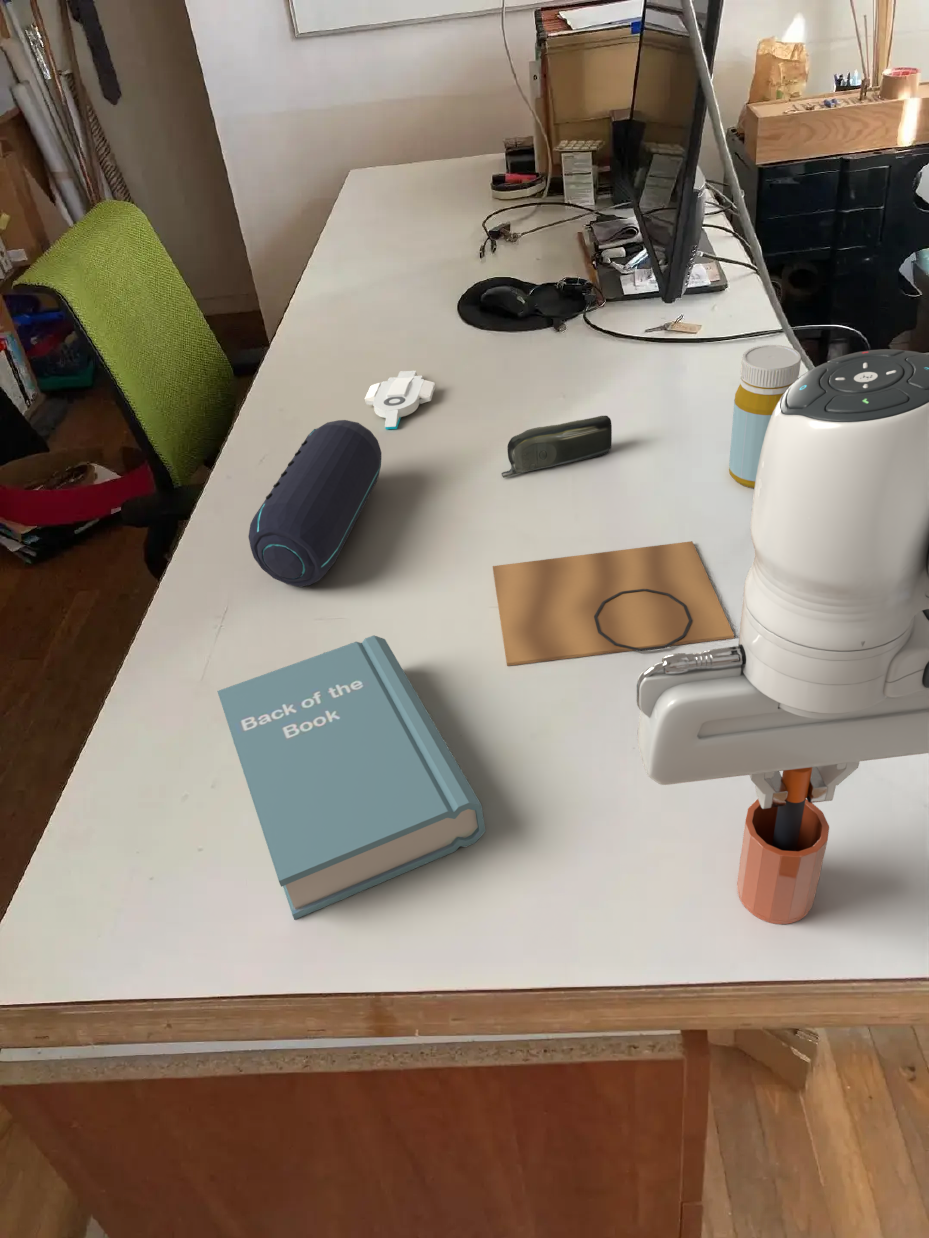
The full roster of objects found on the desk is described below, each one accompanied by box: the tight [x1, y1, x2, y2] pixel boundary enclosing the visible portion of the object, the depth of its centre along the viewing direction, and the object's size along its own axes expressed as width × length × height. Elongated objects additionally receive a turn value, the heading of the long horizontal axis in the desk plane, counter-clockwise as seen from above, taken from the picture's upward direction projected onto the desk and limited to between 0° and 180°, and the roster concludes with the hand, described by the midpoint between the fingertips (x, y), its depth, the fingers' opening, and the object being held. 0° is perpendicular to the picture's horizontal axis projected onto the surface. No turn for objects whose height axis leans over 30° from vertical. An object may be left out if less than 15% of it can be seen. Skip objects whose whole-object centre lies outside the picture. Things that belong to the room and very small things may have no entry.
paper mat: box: [492, 540, 735, 667], centre depth 95 cm, size 22×17×1 cm
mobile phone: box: [501, 415, 613, 479], centre depth 117 cm, size 5×3×15 cm
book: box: [217, 635, 486, 921], centre depth 79 cm, size 23×16×5 cm
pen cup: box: [736, 798, 830, 925], centre depth 65 cm, size 5×5×8 cm
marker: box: [772, 767, 813, 851], centre depth 63 cm, size 2×2×14 cm
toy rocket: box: [363, 370, 436, 430], centre depth 135 cm, size 16×10×2 cm, turn 173°
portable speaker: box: [248, 419, 382, 588], centre depth 108 cm, size 25×10×10 cm, turn 168°
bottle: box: [728, 344, 802, 489], centre depth 106 cm, size 7×7×15 cm
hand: (793, 797), depth 61 cm, fingers closed on marker, 2 cm apart
